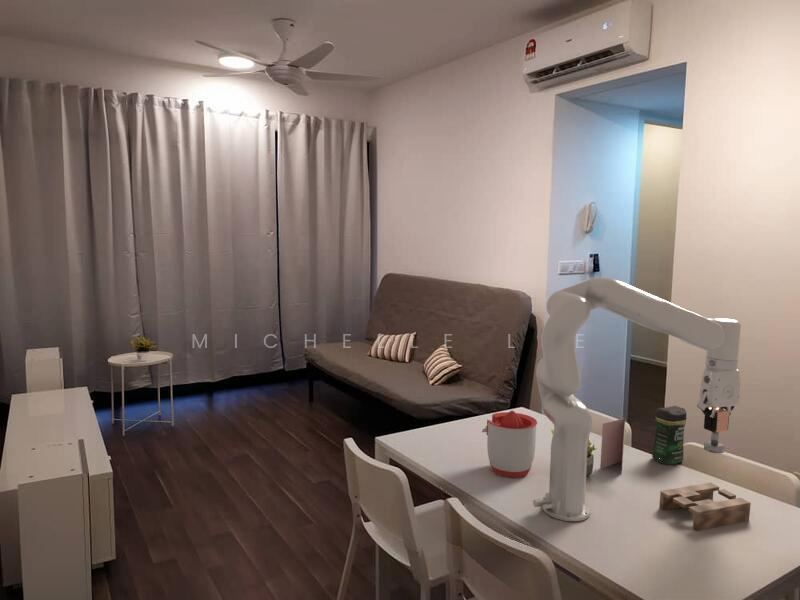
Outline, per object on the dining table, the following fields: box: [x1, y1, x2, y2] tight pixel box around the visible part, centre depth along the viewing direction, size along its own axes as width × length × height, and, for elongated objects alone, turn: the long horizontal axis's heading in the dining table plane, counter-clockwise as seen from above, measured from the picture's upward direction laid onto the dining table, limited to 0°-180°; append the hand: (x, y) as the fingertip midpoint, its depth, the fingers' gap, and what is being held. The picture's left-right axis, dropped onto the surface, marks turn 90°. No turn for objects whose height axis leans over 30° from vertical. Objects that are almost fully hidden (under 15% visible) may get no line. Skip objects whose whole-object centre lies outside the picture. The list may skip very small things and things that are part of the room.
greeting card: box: [599, 417, 626, 475], centre depth 190 cm, size 11×7×15 cm, turn 122°
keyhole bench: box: [658, 482, 752, 531], centre depth 159 cm, size 18×13×5 cm
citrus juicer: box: [481, 410, 538, 479], centre depth 186 cm, size 16×17×20 cm
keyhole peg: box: [703, 407, 730, 454], centre depth 161 cm, size 5×5×12 cm
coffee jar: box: [651, 405, 688, 465], centre depth 196 cm, size 10×8×19 cm
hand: (715, 428), depth 160 cm, fingers closed on keyhole peg, 4 cm apart
